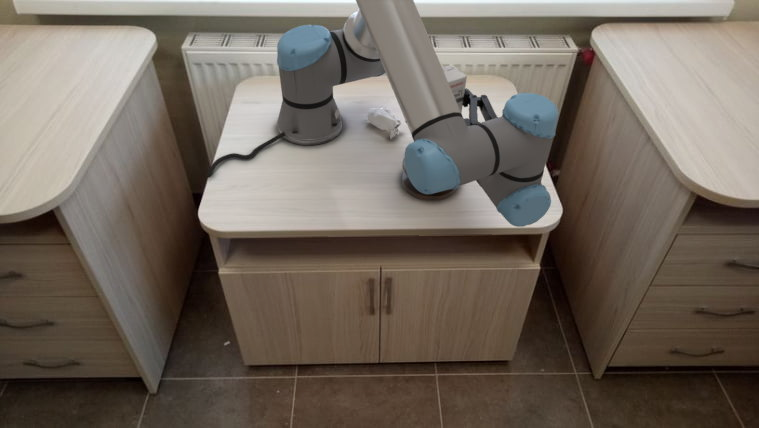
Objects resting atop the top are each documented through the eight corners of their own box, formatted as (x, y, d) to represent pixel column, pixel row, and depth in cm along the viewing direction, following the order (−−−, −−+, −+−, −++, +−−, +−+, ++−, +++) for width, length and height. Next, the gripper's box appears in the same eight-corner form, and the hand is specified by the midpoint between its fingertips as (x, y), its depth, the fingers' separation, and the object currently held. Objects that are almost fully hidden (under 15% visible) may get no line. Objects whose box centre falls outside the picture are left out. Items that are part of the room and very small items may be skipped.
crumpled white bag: (404, 134, 131) (376, 110, 134) (407, 116, 125) (377, 91, 128) (390, 145, 129) (361, 120, 132) (392, 128, 123) (362, 102, 126)
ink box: (426, 141, 105) (431, 87, 97) (411, 128, 108) (415, 75, 100) (461, 127, 109) (468, 74, 100) (445, 116, 112) (451, 63, 103)
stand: (414, 206, 111) (416, 186, 107) (393, 171, 119) (394, 152, 115) (467, 193, 114) (470, 174, 110) (443, 160, 122) (445, 141, 118)
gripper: (422, 184, 91) (377, 114, 107) (534, 158, 97) (476, 95, 112) (426, 148, 86) (377, 80, 101) (544, 123, 92) (481, 62, 107)
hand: (429, 88), depth 107 cm, fingers closed on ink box, 9 cm apart
